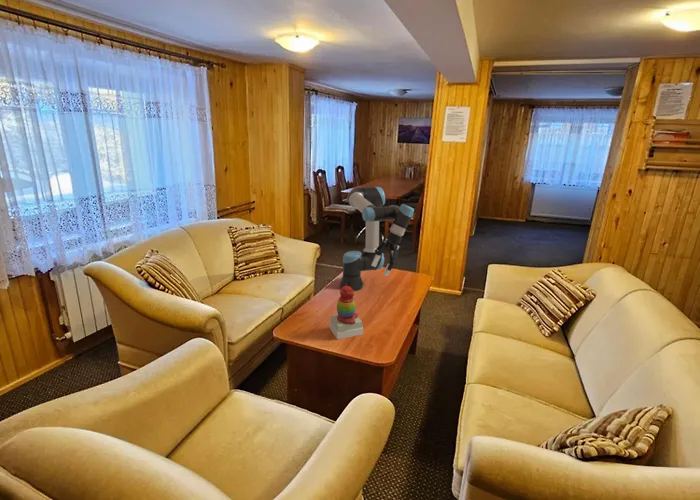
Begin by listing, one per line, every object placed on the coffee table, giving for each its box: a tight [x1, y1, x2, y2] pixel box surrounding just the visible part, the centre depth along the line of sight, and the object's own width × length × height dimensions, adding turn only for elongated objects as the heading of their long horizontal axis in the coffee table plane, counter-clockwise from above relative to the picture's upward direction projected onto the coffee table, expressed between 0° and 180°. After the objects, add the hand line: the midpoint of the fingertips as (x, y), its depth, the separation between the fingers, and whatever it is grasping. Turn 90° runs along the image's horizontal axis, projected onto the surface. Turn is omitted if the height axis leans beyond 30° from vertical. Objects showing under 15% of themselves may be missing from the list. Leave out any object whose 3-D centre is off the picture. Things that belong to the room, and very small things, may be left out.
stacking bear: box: [336, 285, 359, 325], centre depth 188 cm, size 11×10×18 cm
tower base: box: [328, 314, 364, 340], centre depth 192 cm, size 12×14×7 cm
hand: (379, 270), depth 197 cm, fingers open, 13 cm apart
